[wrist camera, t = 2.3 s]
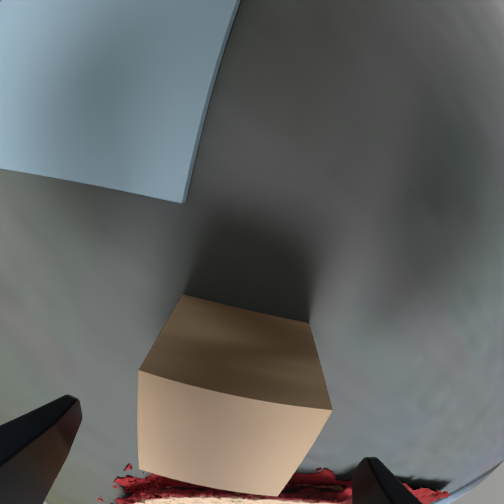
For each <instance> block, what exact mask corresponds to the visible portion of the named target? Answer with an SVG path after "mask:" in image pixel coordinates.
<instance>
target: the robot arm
mask: <svg viewBox="0 0 504 504" xmlns="http://www.w3.org/2000/svg"><path fill="white" fill-rule="evenodd" d="M81 421H82V411H81V406H80V401H79V399H78V398H75V397H73V396H71V395H64V396H62V397H60V398H58V399H56V400H54V401H52V402H50V403H48V404H46V405H44V406H41V407H39V408H37V409H35V410H33V411H31V412H29V413H27V414H24V415H22V416H20V417H18V418H16V419H14V420H11V421H9V422H7V423H5V424H2V425H0V504H43V502H44V500H45V498H46V496H47V494H48V492H49V491H50V489H51V487H52V485H53V483H54V481H55V479H56V477H57V475H58V473H59V472H60V470H61V468H62V466H63V464H64V462H65V460H66V458H67V456H68V454H69V451H70V449H71V446H72V444H73V441H74V439H75V436H76V434H77V431H78V429H79V426H80V424H81ZM352 504H423V503H421V502H420V501H419V500H418V499H417V498H416V497H415V496H414V495H413V494H412V493H411V492H410V491H409V490H408V489H407V488H406V487H405V486H404V485H403V484H402V483H401V482H400V481H399V480H398V479H397V478H396V477H395V476H394V475H393V473H392V472H391V471H390V470H389V469H388V468H387V467H386V466H385V465H384V464H383V463H382V462H381V461H380V460H379V459H378V458H376V457H365V458H363V459H362V461H361V462H360V463H359V464H358V466H357V467H356V468H355V469H354V471H353V473H352Z"/></svg>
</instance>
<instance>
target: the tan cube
mask: <svg viewBox="0 0 504 504" xmlns="http://www.w3.org/2000/svg"><path fill="white" fill-rule="evenodd" d="M331 412H332V406H331V402H330V398H329V394H328V390H327V387H326V383H325V379H324V375H323V372H322V368H321V364H320V361H319V357H318V353H317V350H316V346H315V342H314V339H313V335H312V332H311V328H310V325H309V323H306V322H301V321H296V320H291V319H287V318H282V317H277V316H272V315H268V314H263V313H259V312H254V311H250V310H246V309H241V308H237V307H233V306H228V305H224V304H220V303H216V302H212V301H208V300H204V299H200V298H196V297H192V296H188V295H184V294H183V295H182V297H181V299H180V300H179V302H178V304H177V305H176V307H175V309H174V310H173V312H172V314H171V315H170V317H169V319H168V320H167V322H166V324H165V325H164V327H163V329H162V330H161V332H160V334H159V336H158V337H157V339H156V341H155V342H154V344H153V346H152V348H151V349H150V351H149V353H148V354H147V356H146V358H145V360H144V361H143V363H142V365H141V367H140V368H139V370H138V457H139V469H141V470H144V471H147V472H150V473H154V474H157V475H160V476H164V477H168V478H171V479H175V480H179V481H183V482H187V483H192V484H196V485H201V486H206V487H211V488H216V489H222V490H227V491H234V492H241V493H248V494H256V495H266V496H278V495H279V494H280V492H281V491H282V490H283V488H284V487H285V485H286V484H287V483H288V481H289V480H290V478H291V477H292V475H293V474H294V472H295V471H296V469H297V468H298V466H299V465H300V463H301V462H302V460H303V459H304V457H305V456H306V454H307V452H308V451H309V449H310V448H311V446H312V445H313V443H314V441H315V440H316V438H317V436H318V435H319V433H320V431H321V430H322V428H323V426H324V424H325V423H326V421H327V419H328V418H329V416H330V414H331Z"/></svg>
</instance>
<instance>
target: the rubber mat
mask: <svg viewBox="0 0 504 504" xmlns="http://www.w3.org/2000/svg"><path fill="white" fill-rule="evenodd" d="M239 3H240V0H2V1H1V3H0V168H1V169H7V170H13V171H19V172H25V173H31V174H37V175H42V176H48V177H53V178H59V179H64V180H70V181H75V182H80V183H85V184H91V185H96V186H101V187H106V188H111V189H116V190H121V191H126V192H130V193H135V194H140V195H145V196H149V197H154V198H159V199H163V200H168V201H173V202H177V203H184V202H186V200H187V195H188V190H189V185H190V180H191V176H192V171H193V167H194V162H195V158H196V153H197V149H198V145H199V141H200V137H201V133H202V128H203V124H204V120H205V117H206V113H207V109H208V105H209V101H210V98H211V94H212V90H213V87H214V83H215V79H216V76H217V72H218V69H219V66H220V62H221V59H222V56H223V52H224V49H225V46H226V43H227V39H228V36H229V33H230V30H231V27H232V24H233V21H234V18H235V15H236V12H237V9H238V6H239Z"/></svg>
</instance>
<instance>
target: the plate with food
mask: <svg viewBox="0 0 504 504" xmlns="http://www.w3.org/2000/svg"><path fill="white" fill-rule="evenodd" d="M128 469H130V470H132V468H131V464H129V466H128V467H127V469H125V470H124V471H126V470H128ZM316 470H317V471H320V470H322V469H316ZM143 473H144V472H143ZM149 473H150V472H149ZM151 474H152V476H148V478H146V479H141V478H137V477H131V476H125V478H119V477H118V478H117V480H116V481H114V482H117V484H120V485H122V486H124V487H125V489H124V492H125V493H129V494H132V493H133V495H132V496H130V497H127V498H117V499H116V501H117V502H118V503H119V504H352V479H351V480H348V481H343V480H336V479H335V478H336V476H335V475H334V473H333V472H332V471H331V470H328V469H326V468H325V469H323V470H322V471H321V472H319V473H313V474H299V473H294V474H293V475H292V478H290V480H289V481H288V483H287V484H286V485H285V487H284V488H283V490H282V491H281V492H280V494H279V495H278V496H266V495H256V494H248V493H241V492H234V491H227V490H222V489H216V488H211V487H206V486H201V485H196V484H192V483H187V482H183V481H179V480H175V479H171V478H168V477H164V476H160V475H157V474H154V473H151ZM146 475H147V474H146ZM135 478H137V479H135ZM134 479H135V480H134ZM114 482H113V483H114ZM142 482H143V483H142ZM402 484H403V485H404V486H405V487H406V488H407V489H408V490H409V491H410V492H411V493H412V494H413V495H414V496H415V497H416V498H417V499H418V500H419V501H420V502H421V503H423V504H429V503H431V502H433V501H435V500H436V501H438V500H439V499H440V498H441V497H446V498H448V496H449V495H450V494H449V493H448V492H447V491H444V492H441V491H439V490H437V489H436V491H432V490H430V489H428V488H422V487H421V488H419V489H417V490H412V489H411V488H410V487H409V486H408V485H407V484H406V483H405V484H404V483H402ZM131 485H133V486H131ZM113 487H114V488H117V486H116V485H115V486H113ZM129 489H130V490H129ZM136 489H137V490H139V491H137V490H136ZM101 497H102V496H101ZM98 500H101V501H103V499H101V498H99V499H98ZM110 504H112V503H110Z"/></svg>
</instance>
